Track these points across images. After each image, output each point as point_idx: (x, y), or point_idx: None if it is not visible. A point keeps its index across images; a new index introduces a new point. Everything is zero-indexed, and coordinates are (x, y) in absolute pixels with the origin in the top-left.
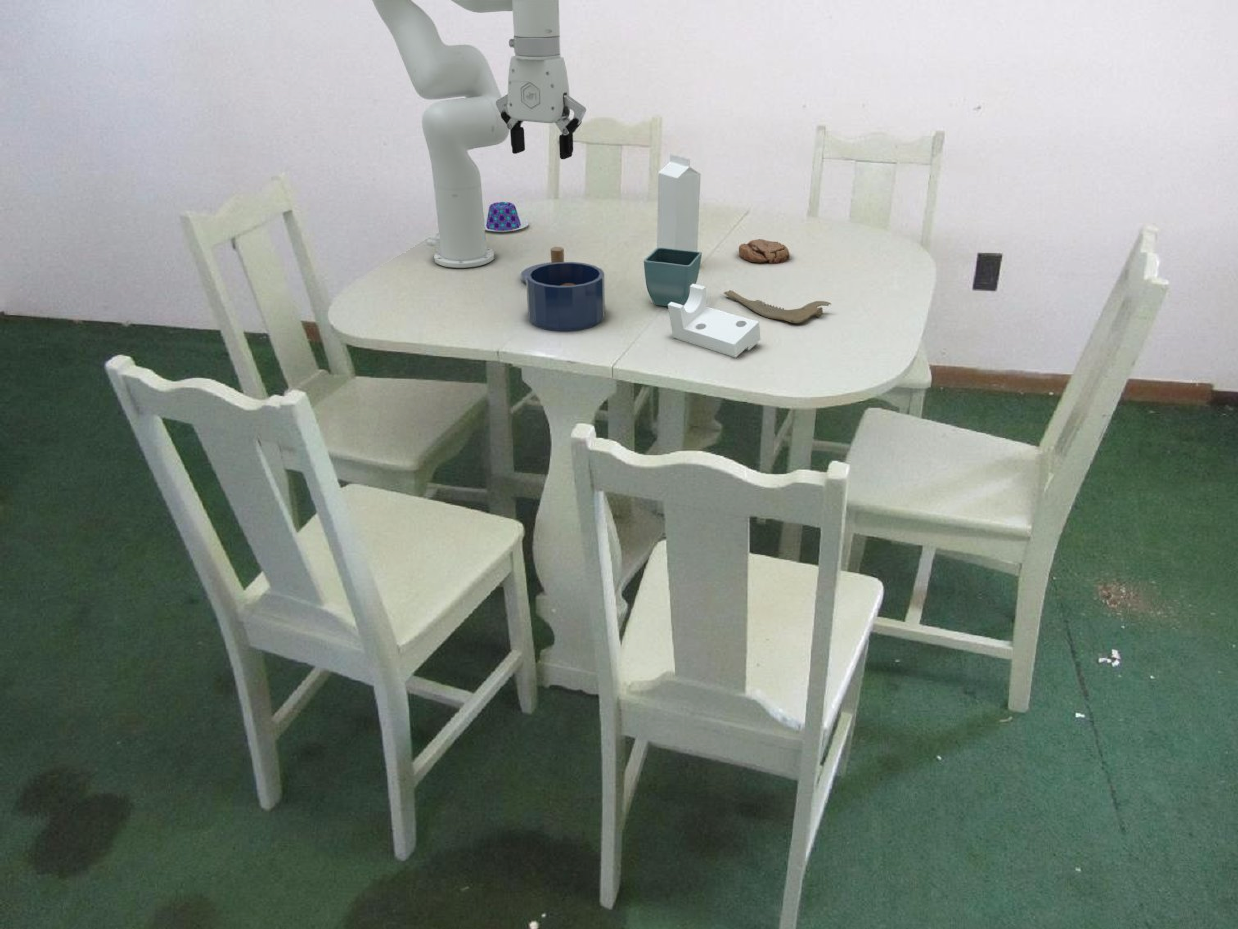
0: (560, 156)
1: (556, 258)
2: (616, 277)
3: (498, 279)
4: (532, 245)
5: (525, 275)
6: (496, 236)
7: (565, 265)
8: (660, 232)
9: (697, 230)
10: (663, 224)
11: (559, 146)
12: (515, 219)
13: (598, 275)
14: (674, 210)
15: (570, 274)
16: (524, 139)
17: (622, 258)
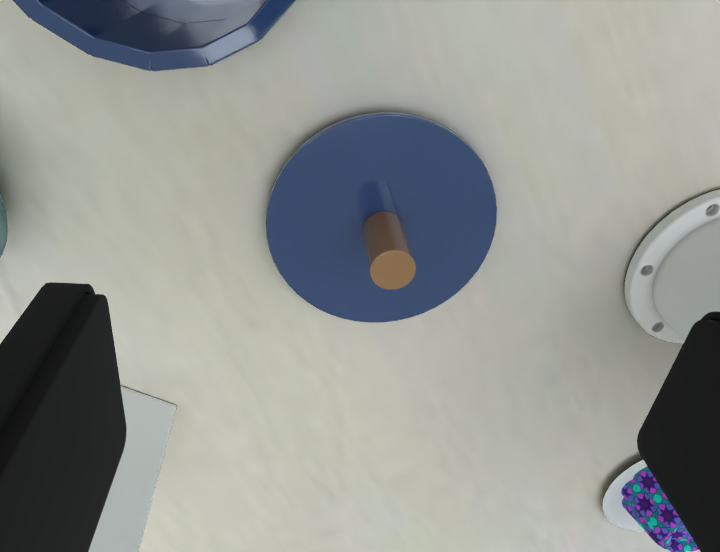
0: (79, 294)
1: (383, 238)
2: (227, 294)
3: (559, 152)
4: (551, 413)
5: (474, 175)
6: None
7: (224, 33)
8: (140, 476)
9: None
10: (120, 497)
11: (46, 384)
12: (638, 504)
13: None
14: None
15: (212, 35)
16: (690, 534)
17: (287, 415)
